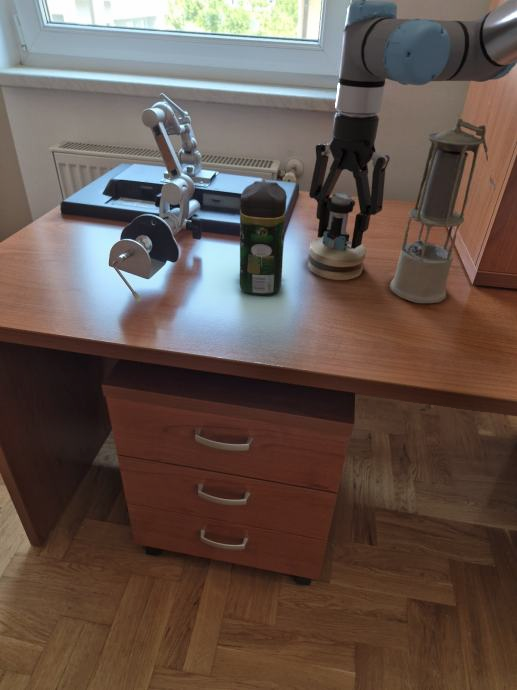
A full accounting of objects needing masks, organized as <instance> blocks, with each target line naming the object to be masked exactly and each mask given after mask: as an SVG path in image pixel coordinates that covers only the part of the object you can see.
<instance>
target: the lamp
mask: <svg viewBox="0 0 517 690" xmlns="http://www.w3.org/2000/svg"><path fill="white" fill-rule="evenodd" d="M462 128H465V129H467V130H470V131H472V132H475V136H474V134H472V133H469V132H466V131H464V130H462ZM486 130H487V128H486V126H485V125H484V124H482V125H478V126H476V125H474V124H471V123H470V122H466V121H464V120H463V119H462V118H458V119H457V121H456V124H455V126H454V128H453V129H447V130H444V131H441V132H433V133H430V134H428V135H427V139H428V140H429V141H430V143H431V144H430V146H429V148H428V153H427V157H426V162H425V166H424V170H423V175H422V178H421V180H420V184H419V190H418V195H417V198H416V202H415V206H414V207H413V208H411V209H410V210H409V211H408V216H409V219H408V221H407V227H406V229H405V233H404V236H403V240H402V246H401V249H400V251H399V258H398V261H397V266H396V270H395V273H394V277H393V278H392V280H391V281H390V286H389V288H390V290H391V292H393V293H394V294H395V295H396V296H397V297H399V298H401V299H403V300H407V301H410V302H413V303H416V304H435V303H436V304H437V303H441V302H443V300H445V299H446V298H447V291H446V286H447V281H448V278H449V274H450V270H451V266H452V263H453V259H454V254H453V250H454V247H455V243H456V239H457V232H458V230H459V227H460V226H461V225H462V224H463V223H464V222H465V218H464V216H465V208H466V206H467V203H468V198H469V192H470V188H471V183H472V179H473V175H474V172H475V168H476V162H477V159H478V154H479V149H480V146H481V144H482V147H483V149H484V154H485V158H486V161H487V162H488V161H489V157H488V156H489V155H488V153H487V152H488V146H487V141H486V134H487V133H486V132H487V131H486ZM477 136H478V137H477ZM468 152H472V153H473V157H472V161H471V167H470V171H469V175H468V181H467V184H466V190H465V193H464V198H463V204H462V208H461V212H460V213H458V212H457V211H455V206H456V202H457V198H458V195H459V191H460V186H461V183H462V179H463V175H464V171H465V167H466V161H467V158H468V156H469V153H468ZM490 172H492V170H490ZM489 182H490V184H491V186H492V189H493V190H494V191H495V190H496V185H495V183H494V181H493V179H492V177H491V175H489ZM412 219H413V221H415V222H417V223H420V224H421V226H420V230H419V234H418V238H417V240H416V241H413V242H409V243H407V241H408V236H409V234H408V233H409V231H410V225H411V221H412ZM424 226H426V234H425V238H424V241H423V240H421V238H422V235H423V230H424ZM433 227H439V228H448V232H447V236H446V239H445V242H444V244H443V246H441V245H438V244H436V243H430V242H428V239H429V235H430V232H431V229H432V228H433ZM453 227H456V228H455V231H454V235H453V237H452V240H451V243H450V246H449V247H448V245H449V242H450V239H451V235H452V231H453Z"/></svg>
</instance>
